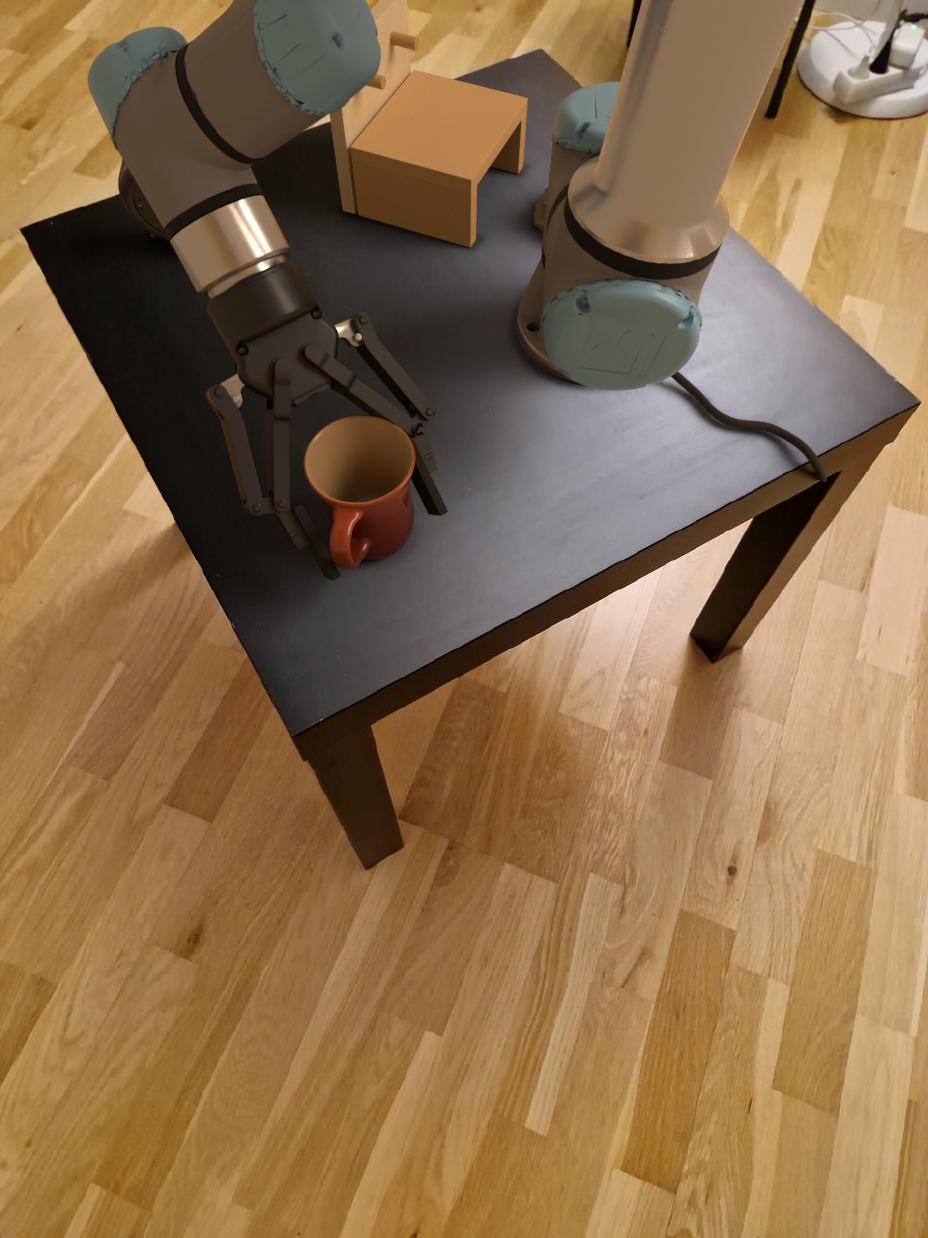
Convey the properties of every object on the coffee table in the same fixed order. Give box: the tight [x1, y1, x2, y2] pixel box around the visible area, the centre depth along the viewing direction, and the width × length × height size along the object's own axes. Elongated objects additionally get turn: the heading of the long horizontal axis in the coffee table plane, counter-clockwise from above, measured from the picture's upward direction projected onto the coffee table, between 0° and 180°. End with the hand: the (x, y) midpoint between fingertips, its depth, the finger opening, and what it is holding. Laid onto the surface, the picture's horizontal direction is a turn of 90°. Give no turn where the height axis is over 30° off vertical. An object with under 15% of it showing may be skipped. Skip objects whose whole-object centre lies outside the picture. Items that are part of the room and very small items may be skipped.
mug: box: [302, 414, 415, 570], centre depth 68 cm, size 12×9×10 cm
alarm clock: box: [117, 157, 169, 242], centre depth 85 cm, size 11×5×16 cm, turn 92°
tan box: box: [329, 0, 529, 248], centre depth 90 cm, size 16×16×16 cm
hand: (386, 544), depth 68 cm, fingers closed on mug, 10 cm apart
